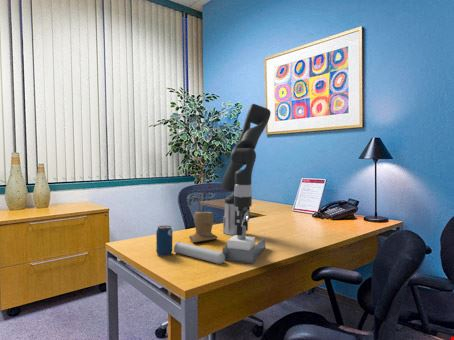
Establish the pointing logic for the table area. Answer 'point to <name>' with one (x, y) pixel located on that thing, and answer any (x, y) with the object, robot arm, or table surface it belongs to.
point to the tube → (199, 252)
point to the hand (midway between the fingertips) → (242, 232)
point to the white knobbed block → (241, 241)
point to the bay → (244, 253)
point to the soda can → (164, 240)
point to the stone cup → (203, 227)
